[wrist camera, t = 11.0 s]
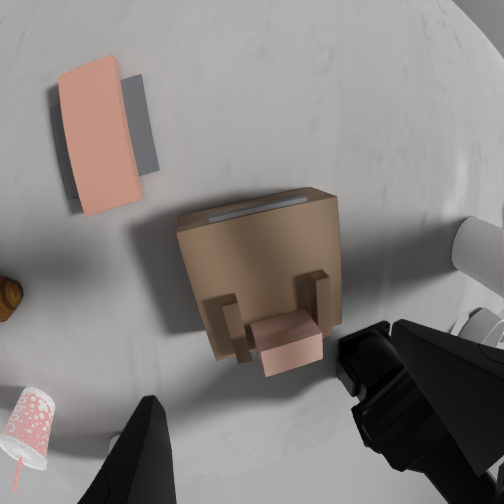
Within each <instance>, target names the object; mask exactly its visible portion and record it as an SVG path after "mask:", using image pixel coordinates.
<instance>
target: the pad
mask: <svg viewBox="0 0 504 504" xmlns="http://www.w3.org/2000/svg"><path fill="white" fill-rule="evenodd" d="M120 81H121V88H122V94H123V100H124V106H125V112H126V118H127V123H128V128H129V133H130V138H131V143H132V148H133V152H134V157H135V161H136V165H137V170H138V174H139V176H141V175H144V174H148V173H151V172H155V171H158V170H160V169H159V165H158V160H157V156H156V151H155V146H154V141H153V136H152V131H151V126H150V121H149V115H148V110H147V104H146V98H145V92H144V86H143V80H142V75H141V74H140V75H137V76H133V77H130V78H127V79H124V80H120ZM51 111H52V119H53V126H54V132H55V138H56V144H57V149H58V154H59V159H60V164H61V169H62V173H63V177H64V181H65V185H66V189H67V193H68V197H69V199H71V198H74V197H76V196H79V194H78V190H77V186H76V182H75V179H74V174H73V170H72V166H71V161H70V157H69V152H68V147H67V142H66V137H65V131H64V125H63V118H62V111H61V104H59V105H57V106H55V107H53V108H51Z"/></svg>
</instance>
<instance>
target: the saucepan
mask: <svg viewBox="0 0 504 504" xmlns="http://www.w3.org/2000/svg"><path fill="white" fill-rule="evenodd" d="M503 334H504V319H501V318H499V317H498V316H497V315H495V314H494V313H492V312H491V311H490V310H488V309H487V308H483V309H481V310H480V311H479V312H477V313H476V314H474V315H473V316H472V317H471V318H470V319H469V320H468V321H467V322H466V323H465V324H464V326H463V327H462V329H461V331H460V332H459V334H458V337H461V338H464V339H467V340H471V341H474V342H476V343H480V344H484V345H487V346H491V347H494V348H497V346H498V344H499V343H500V342H503V341H504V335H503Z"/></svg>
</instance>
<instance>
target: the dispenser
mask: <svg viewBox="0 0 504 504" xmlns="http://www.w3.org/2000/svg"><path fill="white" fill-rule="evenodd" d="M176 235H177V239H178V242H179V246H180V249H181V253H182V256H183V260H184V263H185V267H186V270H187V273H188V277H189V280H190V283H191V287H192V290H193V293H194V296H195V299H196V302H197V306H198V309H199V312H200V315H201V318H202V321H203V324H204V327H205V330H206V333H207V335H208V338H209V341H210V344H211V347H212V350H213V352H214V355H215V358H216V361H219V360H223V359H227V358H231V357H235V356H236V358H237V361H238V364H241V363H245V362H249V361H252V357H251V353H250V352H253V351H256V352H257V354H258V357H259V360H260V362H261V365H262V368H263V370H264V373H265V376H266V377H268V376H272V375H275V374H278V373H281V372H285V371H288V370H291V369H294V368H297V367H300V366H303V365H306V364H309V363H312V362H315V361H317V360H320V359H323V348H322V339H323V338H325V337H328V336H331V327H332V326H335V325H338V324H341V323H342V277H341V247H340V228H339V213H338V200H337V196H334V195H331V194H329V193H326V192H323V191H320V190H318V189H315V188H312V187H309V188H304V189H299V190H294V191H289V192H283V193H279V194H274V195H269V196H264V197H259V198H254V199H250V200H245V201H241V202H236V203H232V204H227V205H223V206H219V207H214V208H210V209H206V210H202V211H198V212H194V213H190V214H186V215H182V216H178V221H177V229H176Z"/></svg>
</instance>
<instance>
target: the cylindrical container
mask: <svg viewBox="0 0 504 504" xmlns="http://www.w3.org/2000/svg"><path fill="white" fill-rule="evenodd" d="M452 263H453V265H454V267H455V268H456V269H458V270H460V271H462V272H463V273H465V274H467V275H468V276H470V277H471V278H473V279H475V280H476V281H478V282H480V283H481V284H483V285H484V286H486V287H487V288H489V289H491V290H492V291H494V292H495V293H497V294H498V295H500V296H501V297H503V298H504V229H503V228H500V227H498V226H496V225H493V224H491V223H489V222H486V221H484V220H481V219H479V218H476V217H474V216H471V217H468V218H467V219H466V220H465V221H464V222H463V223H462V224H461V226H460V227H459V229H458V231H457V234H456V236H455V239H454V243H453V247H452Z"/></svg>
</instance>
